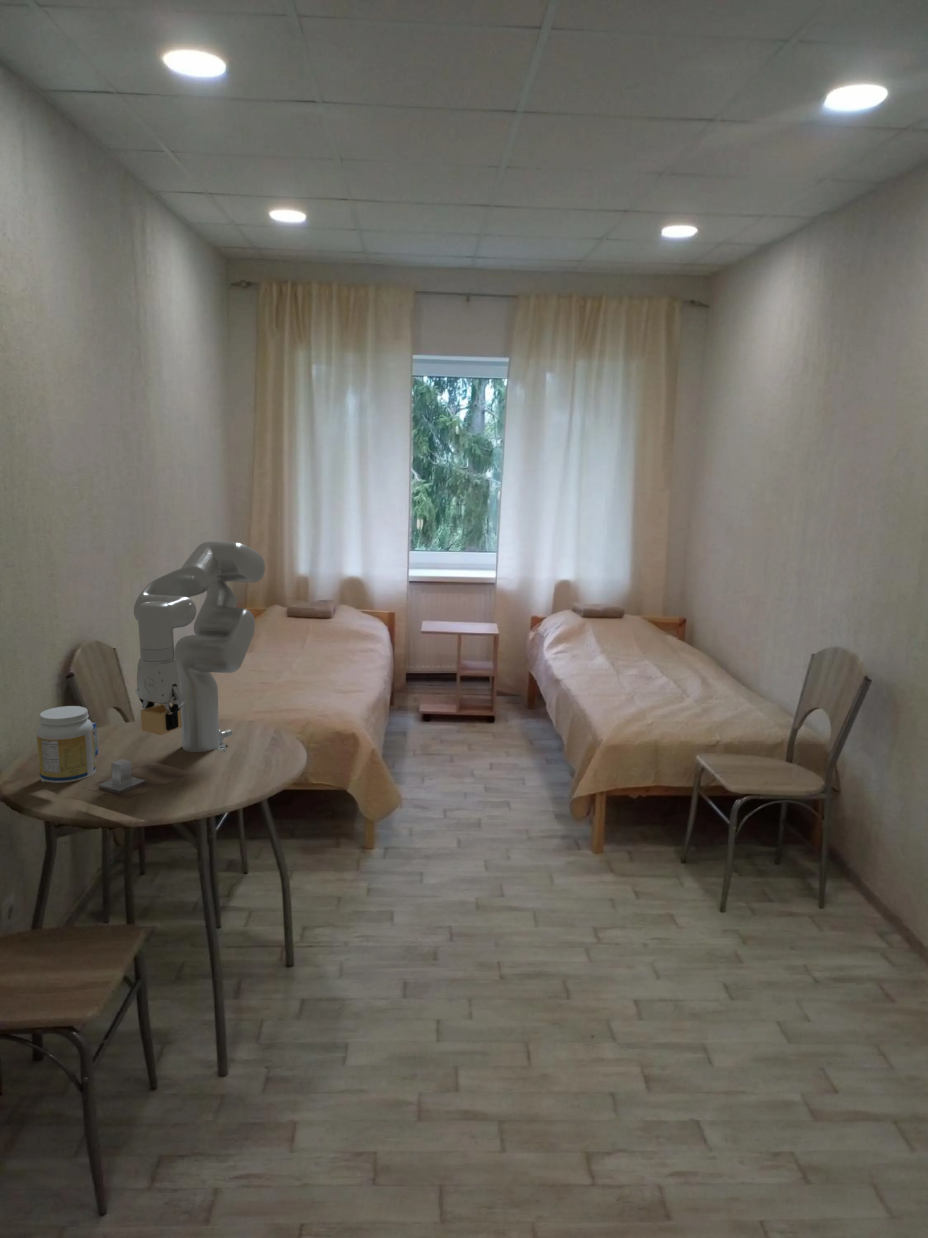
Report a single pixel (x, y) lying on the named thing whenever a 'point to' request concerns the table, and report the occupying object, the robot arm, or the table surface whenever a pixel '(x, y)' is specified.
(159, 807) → the table surface
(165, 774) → the board
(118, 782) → the grey stepped block
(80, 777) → the supplement tub
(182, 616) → the robot arm
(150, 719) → the collar
